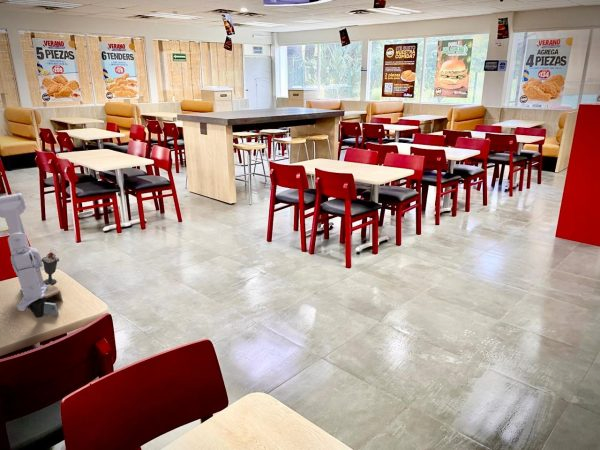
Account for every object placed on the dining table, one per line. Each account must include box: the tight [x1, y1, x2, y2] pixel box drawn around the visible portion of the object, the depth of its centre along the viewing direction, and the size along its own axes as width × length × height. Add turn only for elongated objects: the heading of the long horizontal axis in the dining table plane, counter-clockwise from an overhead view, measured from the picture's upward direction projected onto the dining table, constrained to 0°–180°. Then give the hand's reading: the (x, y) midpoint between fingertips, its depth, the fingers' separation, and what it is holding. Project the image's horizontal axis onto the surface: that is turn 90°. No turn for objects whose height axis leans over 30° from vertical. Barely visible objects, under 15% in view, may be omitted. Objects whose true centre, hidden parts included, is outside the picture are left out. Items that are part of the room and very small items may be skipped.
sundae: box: [41, 250, 60, 285], centre depth 190 cm, size 7×7×15 cm
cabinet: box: [44, 284, 64, 306], centre depth 176 cm, size 9×9×5 cm
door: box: [44, 302, 60, 316], centre depth 168 cm, size 2×9×5 cm, turn 75°
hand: (40, 316), depth 165 cm, fingers closed
